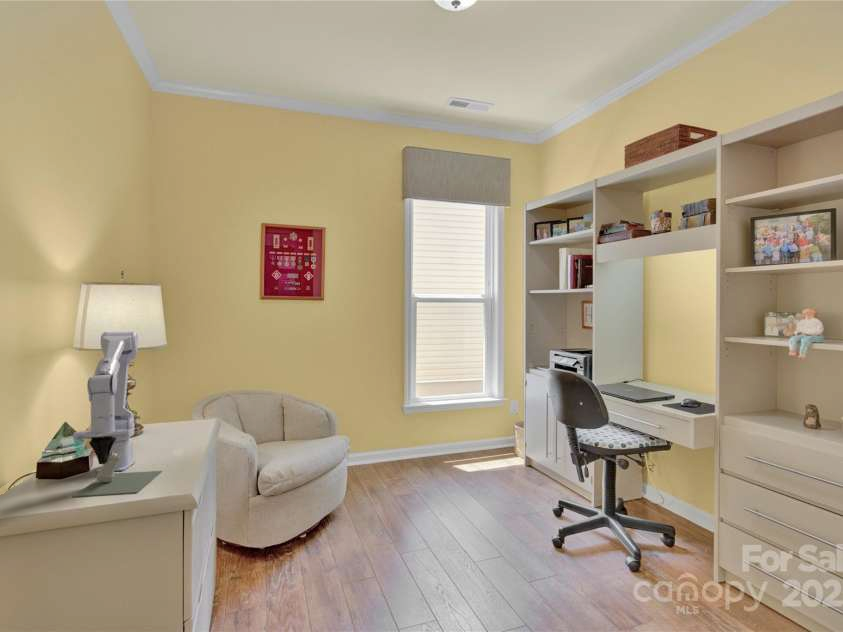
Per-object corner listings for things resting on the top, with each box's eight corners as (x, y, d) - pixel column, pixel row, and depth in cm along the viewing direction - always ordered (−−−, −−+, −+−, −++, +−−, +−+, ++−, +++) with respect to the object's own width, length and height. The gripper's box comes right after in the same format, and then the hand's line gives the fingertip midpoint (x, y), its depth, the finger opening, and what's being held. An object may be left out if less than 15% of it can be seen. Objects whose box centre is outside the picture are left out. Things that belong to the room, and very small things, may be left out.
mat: (105, 475, 145) (105, 474, 145) (161, 471, 147) (161, 470, 147) (72, 497, 127) (72, 496, 127) (137, 493, 130) (137, 492, 130)
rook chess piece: (115, 480, 140) (127, 454, 140) (106, 484, 135) (118, 458, 136) (101, 474, 139) (113, 448, 140) (91, 478, 135) (104, 452, 136)
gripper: (67, 420, 132) (67, 469, 132) (123, 418, 134) (124, 465, 134) (80, 415, 139) (81, 461, 139) (134, 412, 141) (135, 458, 141)
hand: (103, 463), depth 137 cm, fingers closed
